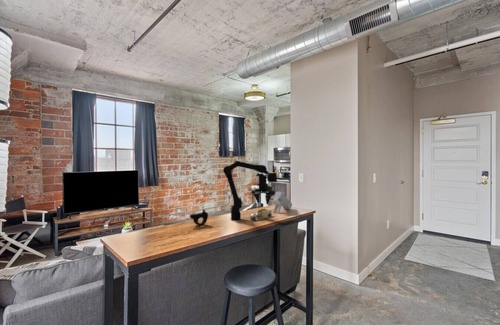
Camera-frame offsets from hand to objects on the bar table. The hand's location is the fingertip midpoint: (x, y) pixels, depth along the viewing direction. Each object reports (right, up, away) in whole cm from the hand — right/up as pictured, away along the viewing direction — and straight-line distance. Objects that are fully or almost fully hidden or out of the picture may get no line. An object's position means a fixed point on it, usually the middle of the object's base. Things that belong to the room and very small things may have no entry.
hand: (262, 203), depth 180 cm
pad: (0, -11, 0) cm, 11 cm away
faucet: (+17, -11, +24) cm, 32 cm away
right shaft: (+4, -11, +6) cm, 13 cm away
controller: (-43, -12, -16) cm, 47 cm away
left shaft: (-6, -11, -4) cm, 13 cm away
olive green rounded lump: (0, -11, 0) cm, 10 cm away
